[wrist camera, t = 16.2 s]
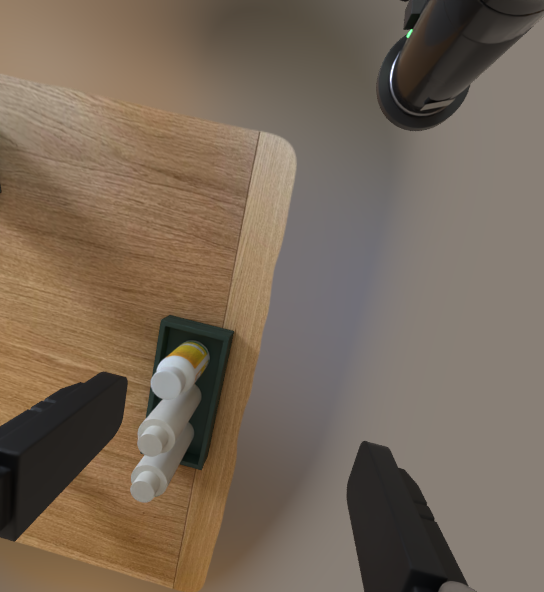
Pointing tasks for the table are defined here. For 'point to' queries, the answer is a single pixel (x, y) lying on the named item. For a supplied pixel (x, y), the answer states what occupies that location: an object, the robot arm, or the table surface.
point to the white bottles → (163, 444)
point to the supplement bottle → (180, 370)
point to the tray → (208, 382)
